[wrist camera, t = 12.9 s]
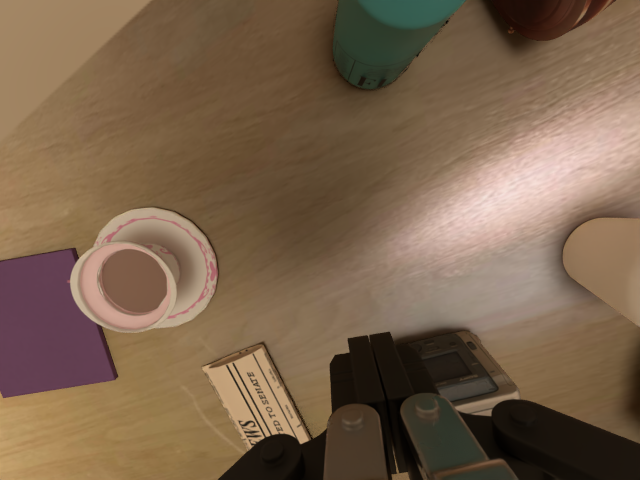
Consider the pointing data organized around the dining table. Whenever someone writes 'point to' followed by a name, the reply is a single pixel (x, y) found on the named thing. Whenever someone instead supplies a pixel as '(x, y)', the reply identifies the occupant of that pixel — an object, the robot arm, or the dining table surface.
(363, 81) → the beverage bottle
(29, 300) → the purple square board
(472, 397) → the camera
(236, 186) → the dining table surface
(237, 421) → the newspaper
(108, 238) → the teacup
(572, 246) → the cup
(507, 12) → the alarm clock
